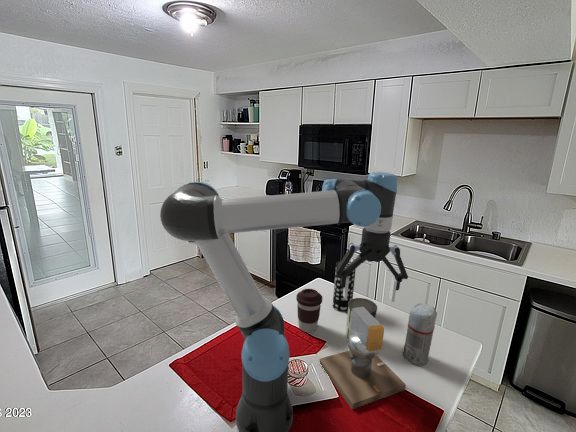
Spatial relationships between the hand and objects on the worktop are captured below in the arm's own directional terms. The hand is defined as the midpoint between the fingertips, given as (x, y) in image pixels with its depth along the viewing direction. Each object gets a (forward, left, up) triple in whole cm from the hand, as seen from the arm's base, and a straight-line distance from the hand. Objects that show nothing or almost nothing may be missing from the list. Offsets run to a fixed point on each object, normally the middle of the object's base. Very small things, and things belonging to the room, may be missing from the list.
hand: (368, 298), depth 93 cm
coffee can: (+11, +16, -28) cm, 34 cm away
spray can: (+23, 0, -28) cm, 36 cm away
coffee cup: (-4, +29, -28) cm, 40 cm away
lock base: (0, 0, -28) cm, 28 cm away
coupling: (0, 0, -17) cm, 17 cm away
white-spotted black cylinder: (+17, +37, -28) cm, 49 cm away
